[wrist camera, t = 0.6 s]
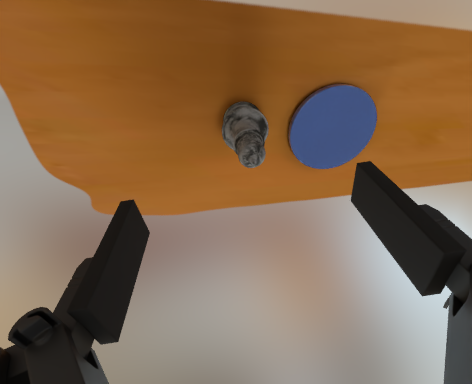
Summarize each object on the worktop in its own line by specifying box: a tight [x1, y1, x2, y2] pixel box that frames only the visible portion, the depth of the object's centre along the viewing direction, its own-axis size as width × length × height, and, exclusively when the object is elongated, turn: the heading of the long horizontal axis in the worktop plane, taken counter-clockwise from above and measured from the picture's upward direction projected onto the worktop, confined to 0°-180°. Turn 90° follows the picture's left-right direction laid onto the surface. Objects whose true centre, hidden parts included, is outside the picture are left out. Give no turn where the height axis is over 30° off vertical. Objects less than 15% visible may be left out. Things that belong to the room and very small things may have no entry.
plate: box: [288, 84, 377, 169], centre depth 35 cm, size 12×12×2 cm
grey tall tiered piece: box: [222, 102, 268, 168], centre depth 29 cm, size 6×6×12 cm
